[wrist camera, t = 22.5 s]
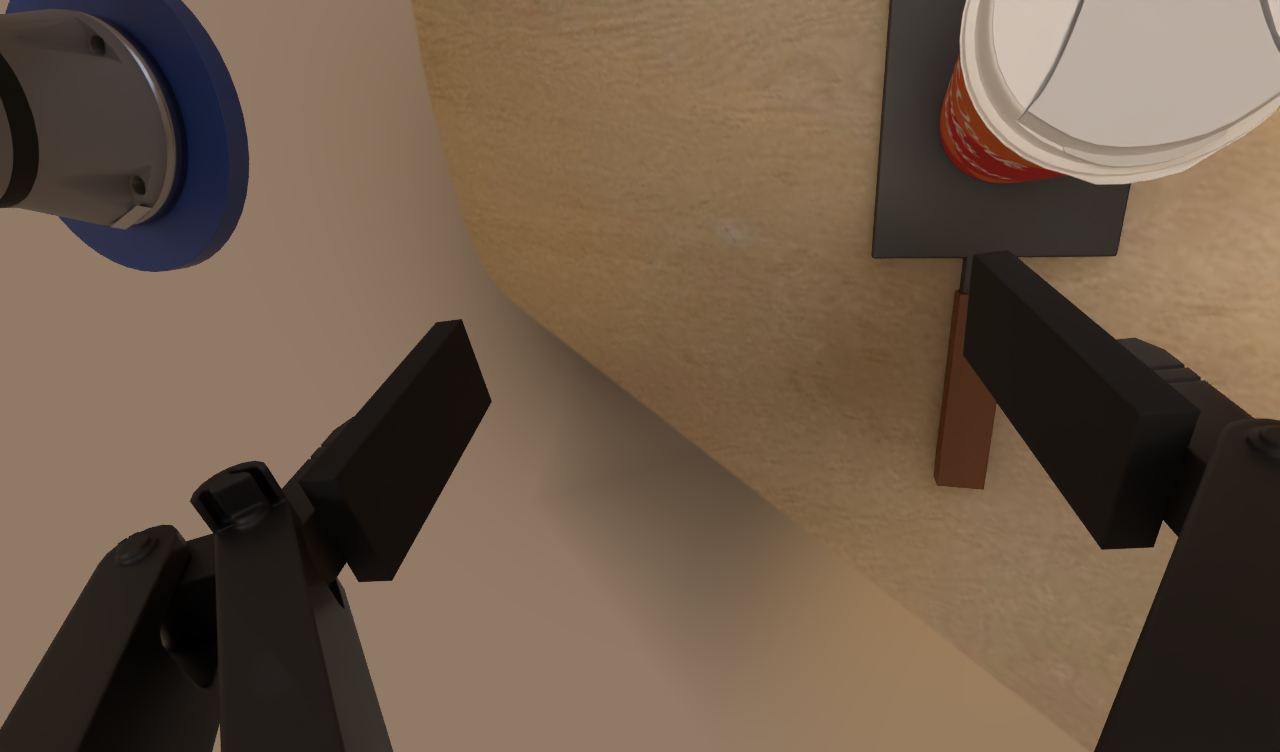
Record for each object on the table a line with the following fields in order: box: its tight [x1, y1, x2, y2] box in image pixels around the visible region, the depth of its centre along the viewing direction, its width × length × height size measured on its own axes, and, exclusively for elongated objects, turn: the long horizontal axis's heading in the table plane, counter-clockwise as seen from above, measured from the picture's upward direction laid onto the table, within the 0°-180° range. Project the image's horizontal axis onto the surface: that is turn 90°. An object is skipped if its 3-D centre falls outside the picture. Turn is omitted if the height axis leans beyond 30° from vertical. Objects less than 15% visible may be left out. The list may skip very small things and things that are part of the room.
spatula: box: [872, 0, 1131, 489], centre depth 31 cm, size 11×26×1 cm, turn 3°
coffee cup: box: [940, 0, 1280, 185], centre depth 21 cm, size 8×8×15 cm
